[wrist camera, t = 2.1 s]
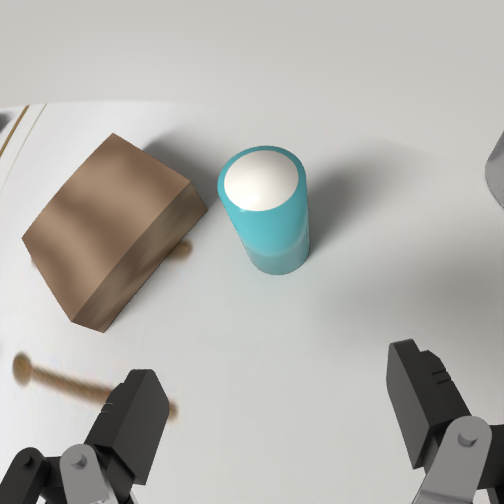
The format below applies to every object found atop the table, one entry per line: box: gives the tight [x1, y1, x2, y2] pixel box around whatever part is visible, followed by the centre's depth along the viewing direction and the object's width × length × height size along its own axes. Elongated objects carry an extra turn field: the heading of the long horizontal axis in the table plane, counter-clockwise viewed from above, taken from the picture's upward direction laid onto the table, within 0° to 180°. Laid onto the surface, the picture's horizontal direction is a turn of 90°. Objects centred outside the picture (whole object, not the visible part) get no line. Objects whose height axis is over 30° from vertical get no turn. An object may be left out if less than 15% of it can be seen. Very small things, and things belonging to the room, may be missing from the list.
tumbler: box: [217, 146, 310, 275], centre depth 24 cm, size 6×6×10 cm
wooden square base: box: [22, 133, 207, 333], centre depth 30 cm, size 16×14×5 cm
